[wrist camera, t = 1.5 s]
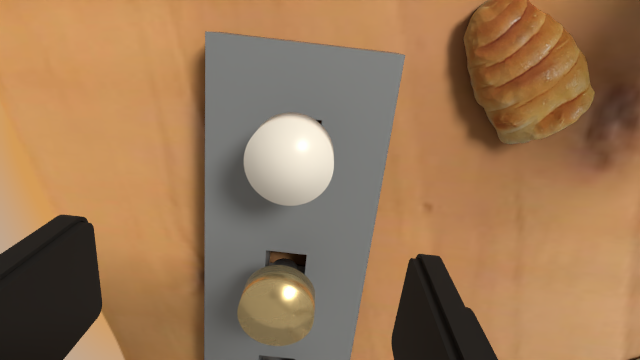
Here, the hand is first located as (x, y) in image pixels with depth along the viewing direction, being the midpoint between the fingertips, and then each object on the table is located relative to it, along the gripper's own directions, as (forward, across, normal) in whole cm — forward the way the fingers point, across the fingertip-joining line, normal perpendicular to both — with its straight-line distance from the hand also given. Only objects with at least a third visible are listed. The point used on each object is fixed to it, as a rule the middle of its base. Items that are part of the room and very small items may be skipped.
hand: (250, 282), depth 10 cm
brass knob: (+15, 0, +10) cm, 18 cm away
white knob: (+15, 0, 0) cm, 15 cm away
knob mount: (+18, 0, +10) cm, 21 cm away
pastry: (+19, -14, -5) cm, 24 cm away
